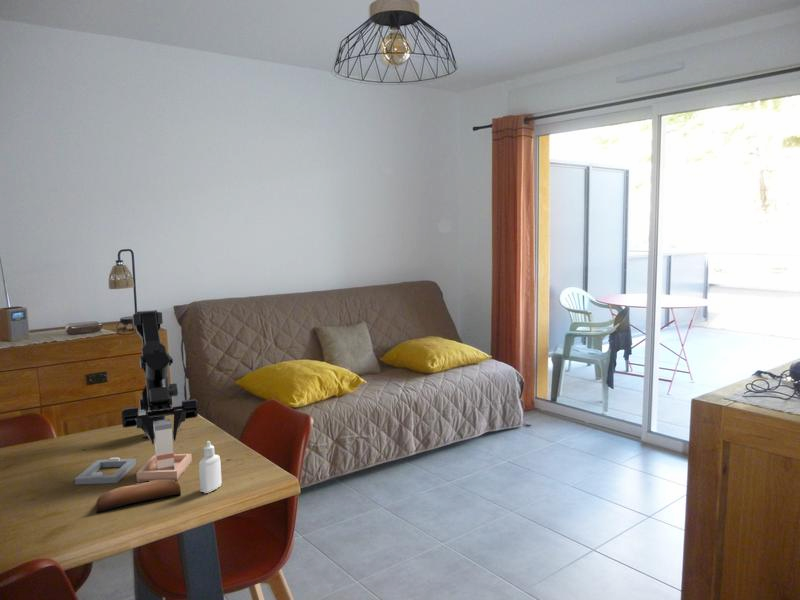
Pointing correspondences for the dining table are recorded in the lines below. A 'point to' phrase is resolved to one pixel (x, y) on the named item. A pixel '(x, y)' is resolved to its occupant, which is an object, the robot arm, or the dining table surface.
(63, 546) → the dining table surface
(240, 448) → the dining table surface
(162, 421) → the white rectangular block
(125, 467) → the clip frame
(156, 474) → the dish
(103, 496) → the sunglasses case
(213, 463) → the eye dropper bottle
